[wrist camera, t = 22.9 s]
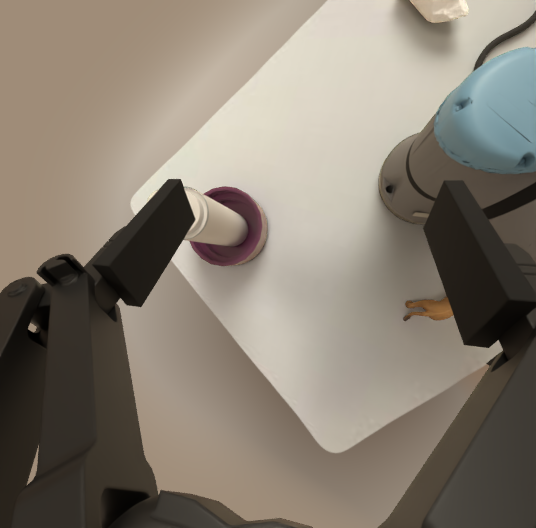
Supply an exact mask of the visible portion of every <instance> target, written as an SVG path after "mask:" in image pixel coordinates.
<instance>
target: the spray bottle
mask: <svg viewBox="0 0 536 528" xmlns="http://www.w3.org/2000/svg"><path fill="white" fill-rule="evenodd" d="M184 189H185V192H186V195H187V197H188V200H189V203H190V206H191V208H192V211H193V214H194V216H195V219H196V220H195V222H194V223H193V225H192V226H191V228H190V230H189V231H188V233H187V234H186V236H185V238H184V239H183V240H188V241H195V242H202V243H209V244H216V245H223V246H230V247H234V246H238V245H240V244H241V243H242V242H243V241H244V240H245V239H246V237H247V234H248V225H247V222H246V220H245V219H244V218H243V217H242V216H241V215H239V214H238V213H236V212H234V211H232V210H231V209H229V208H227V207H225V206H223V205H222V204H220V203H218V202H216V201H215V200H213V199H211V198H209V197H207V196H206V195H204V194H202V193H200V192H198V191H197V190H195V189H193V188H190V187H184ZM157 191H158V190H156V191H154V192H153V193H152V194H151V195H150V196H149V198H148V200H147V202H148V201H149V200H150V199H151V198H152V197H153V196H154V195H155V193H156V192H157Z"/></svg>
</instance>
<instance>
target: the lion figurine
mask: <svg viewBox="0 0 536 528" xmlns="http://www.w3.org/2000/svg"><path fill="white" fill-rule="evenodd" d="M405 305H406V307H407V308H415V307H422V308H424V309H425V310H426V311H425V312H411V313H409V314H408V315H407V316H405V317H404V318H403V320H404V321H407V320H408V319H410V317H411V316H412V315H420V316H429V317H430V318H431V319H433V320H444V319H447V318H449V317H451V316H453V312H452V309H451V306H450V303H449V300H448V298H447V297H445V298H444V299H442V300H441V301H435V300H421V301H418V302H415V303H413V302H412V301H407V302H406V303H405Z"/></svg>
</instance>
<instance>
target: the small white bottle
mask: <svg viewBox="0 0 536 528" xmlns="http://www.w3.org/2000/svg"><path fill="white" fill-rule="evenodd" d="M410 2H411V3H412V4H413V5H414V6H415V7H416V8H417V10H418V11H419V12H420V13H421V14H422V15H423V17H424V18H425V19H426V20H427V21H429V22H432V23H438V22H442V21H443V22H446V21H451V20H453V19H458V18H459V17H462V16H467V14H468V12H469V9H468V5H467V3H466V1H465V0H410Z"/></svg>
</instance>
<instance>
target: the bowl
mask: <svg viewBox="0 0 536 528" xmlns="http://www.w3.org/2000/svg"><path fill="white" fill-rule="evenodd" d="M204 195H206V196H207V197H209V198H211V199H213V200H215V201H216V202H218V203H220V204H222V205H223V206H225V207H227V208H229V209H231V210H232V211H234V212H236V213H238V214H239V215H241V216H242V217H243V218H244V219H245V220H246V222H247V225H248V234H247V237H246V239H245V240H244V241H243V242H242V243H241V244H240V245H238V246H234V247H230V246H223V245H216V244H209V243H202V242H195V241H190V243H191V245H192V248H193V249H194V251H195V252H196V253H197V254H198V255H199V256H200V257H201V258H202V259H203V260H205V261H207V262H209V263H210V264H214V265H219V266H233V265H240V264H244V263H246V262H248V261H250V260H252V259H253V258H254V257H255V256H256V255H257V254H258V253H259V252H260V251H261V249H262V247H263V245H264V243H265V242H266V237H267V231H268V227H267V220H266V216H265V214H264V212H263V210H262V208H261V207H260V206H259V205H258V204H257V203H256V202H255V201H254V200H253V199H252V198H251V197H250V196H249V195H248V194H247V193H245V192H243V191H241V190H239V189H237V188H233V187H219V188H214V189H211V190H210V191H208V192H206V193H204Z"/></svg>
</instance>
